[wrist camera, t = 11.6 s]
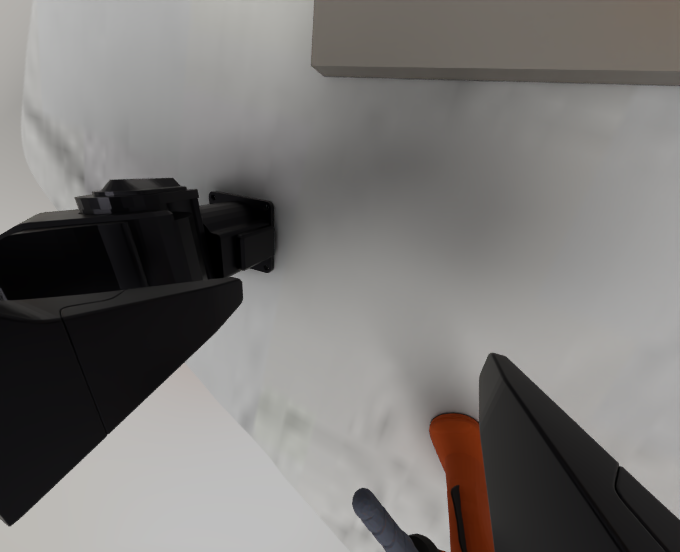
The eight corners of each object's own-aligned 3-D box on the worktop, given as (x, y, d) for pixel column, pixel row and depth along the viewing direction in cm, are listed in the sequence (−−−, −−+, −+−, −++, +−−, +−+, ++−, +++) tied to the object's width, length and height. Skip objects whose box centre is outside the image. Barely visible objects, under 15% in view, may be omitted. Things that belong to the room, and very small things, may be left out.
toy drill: (424, 306, 19) (416, 639, 7) (504, 464, 25) (584, 816, 12) (366, 322, 21) (276, 594, 9) (451, 464, 27) (471, 760, 14)
